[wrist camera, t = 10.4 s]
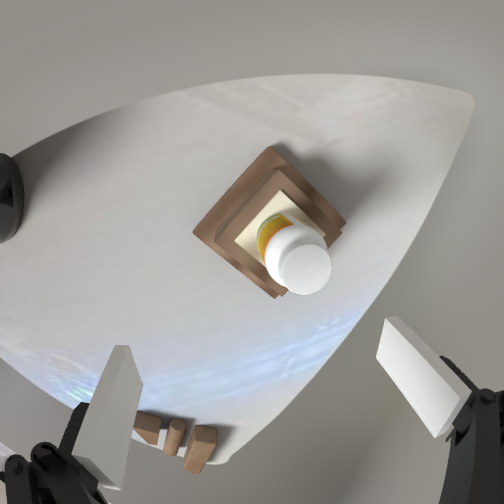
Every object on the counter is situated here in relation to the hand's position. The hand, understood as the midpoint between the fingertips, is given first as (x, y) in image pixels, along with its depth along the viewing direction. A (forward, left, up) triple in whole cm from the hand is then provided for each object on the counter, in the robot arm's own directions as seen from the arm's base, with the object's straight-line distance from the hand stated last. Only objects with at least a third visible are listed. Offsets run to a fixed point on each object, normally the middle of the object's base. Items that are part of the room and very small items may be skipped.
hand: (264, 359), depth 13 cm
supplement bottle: (+2, +4, -17) cm, 18 cm away
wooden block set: (+18, -44, -25) cm, 54 cm away
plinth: (+2, +4, -25) cm, 25 cm away
